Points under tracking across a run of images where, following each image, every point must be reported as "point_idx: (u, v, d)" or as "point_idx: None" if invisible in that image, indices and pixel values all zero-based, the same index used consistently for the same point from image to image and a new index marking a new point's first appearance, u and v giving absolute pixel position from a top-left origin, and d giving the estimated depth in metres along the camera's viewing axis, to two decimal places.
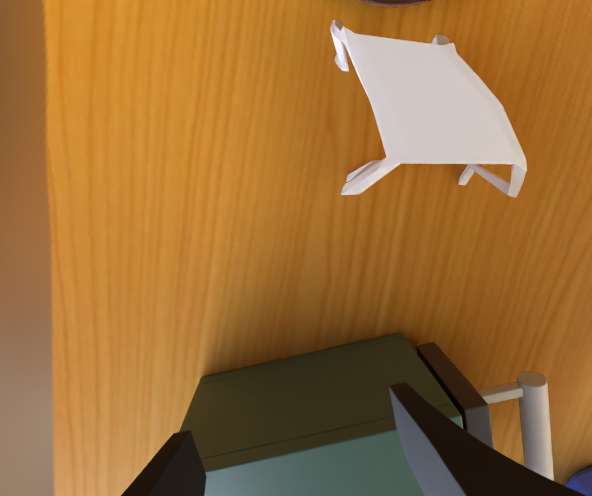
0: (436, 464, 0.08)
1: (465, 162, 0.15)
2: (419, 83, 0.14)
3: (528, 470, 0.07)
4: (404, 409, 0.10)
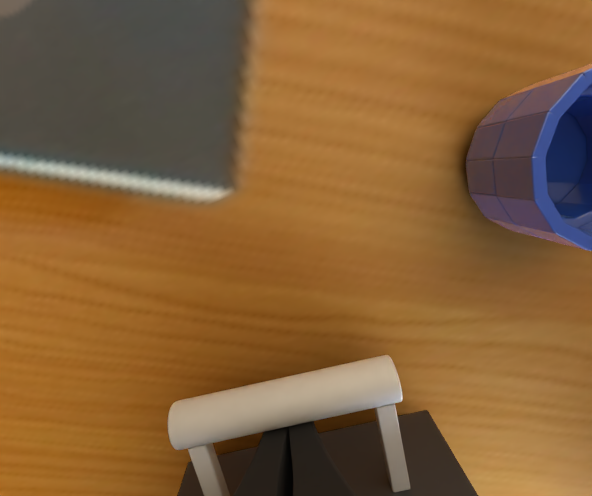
0: None
1: None
2: None
3: None
4: (289, 435, 0.10)
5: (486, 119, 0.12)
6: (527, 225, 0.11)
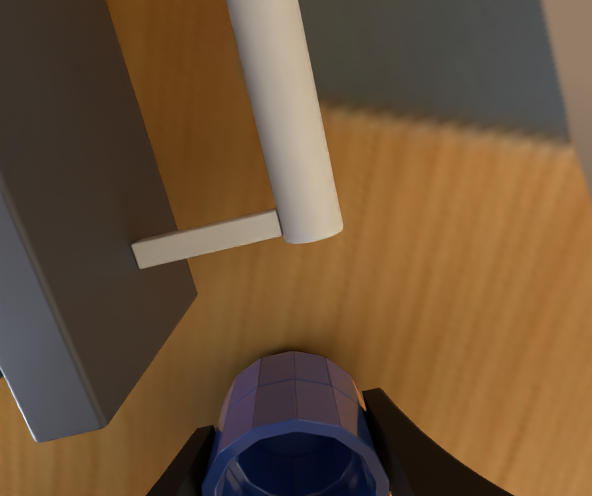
0: (399, 472, 0.08)
1: None
2: None
3: (483, 480, 0.07)
4: (374, 416, 0.10)
5: (332, 365, 0.12)
6: (226, 422, 0.10)
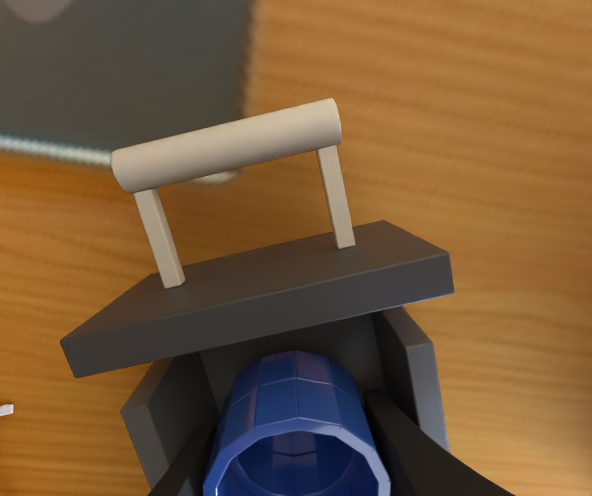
0: (400, 472, 0.08)
1: None
2: None
3: (484, 479, 0.07)
4: (374, 416, 0.10)
5: (333, 364, 0.12)
6: (227, 422, 0.10)
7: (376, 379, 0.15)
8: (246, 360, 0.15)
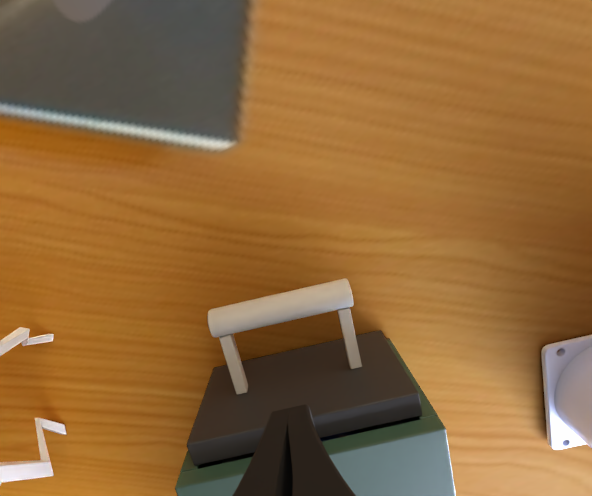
0: None
1: None
2: None
3: None
4: (289, 435, 0.10)
5: None
6: None
7: None
8: None
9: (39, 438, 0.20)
